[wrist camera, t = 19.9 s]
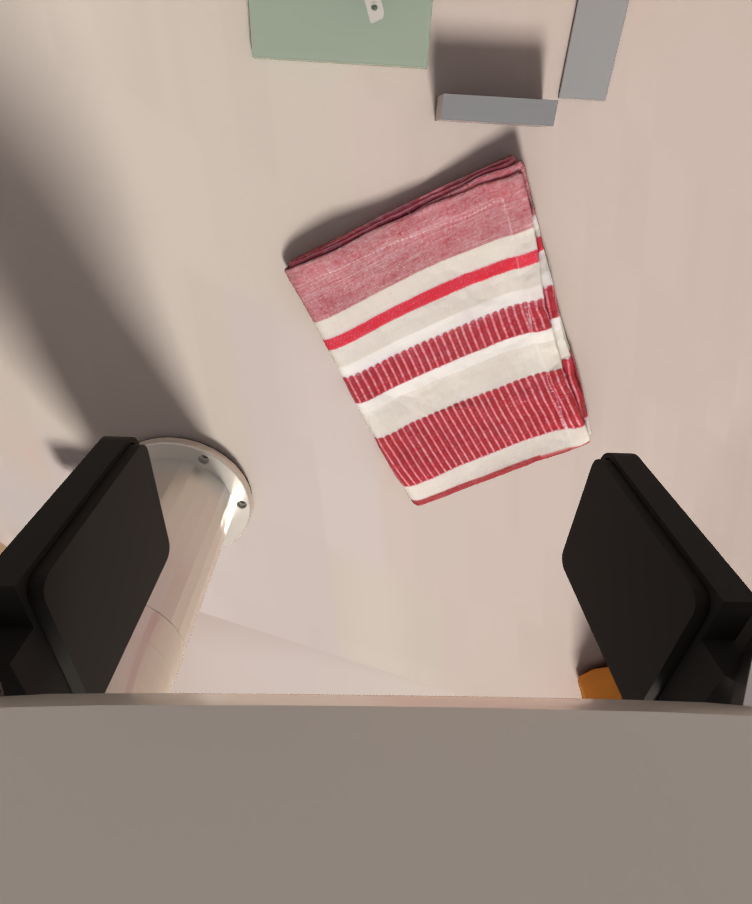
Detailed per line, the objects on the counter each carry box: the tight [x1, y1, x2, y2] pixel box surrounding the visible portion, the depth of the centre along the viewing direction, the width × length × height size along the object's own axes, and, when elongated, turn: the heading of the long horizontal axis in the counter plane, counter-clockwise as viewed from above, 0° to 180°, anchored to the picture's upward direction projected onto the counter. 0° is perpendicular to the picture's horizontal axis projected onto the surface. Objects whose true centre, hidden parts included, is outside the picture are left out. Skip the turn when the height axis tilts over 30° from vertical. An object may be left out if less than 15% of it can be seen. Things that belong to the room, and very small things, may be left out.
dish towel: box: [285, 155, 592, 506], centre depth 39 cm, size 17×23×3 cm
